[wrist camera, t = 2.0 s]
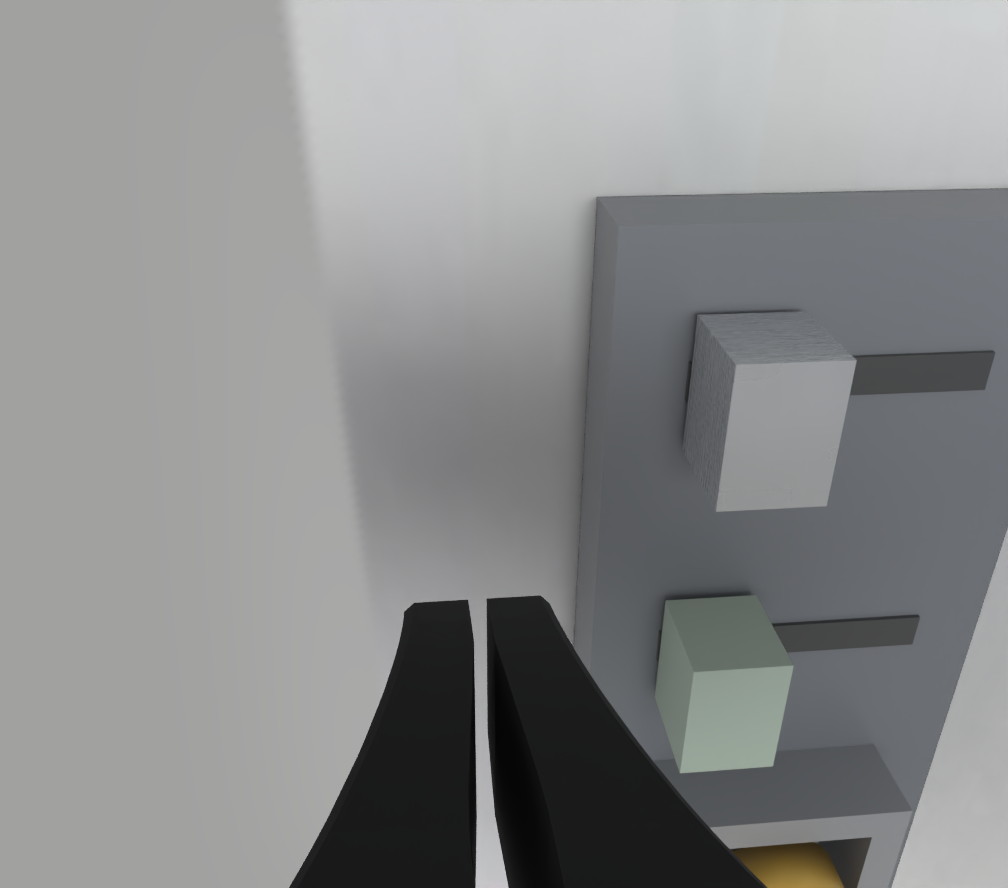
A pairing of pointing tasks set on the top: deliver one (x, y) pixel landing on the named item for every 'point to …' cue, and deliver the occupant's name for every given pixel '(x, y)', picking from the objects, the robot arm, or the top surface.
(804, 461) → the gray cuboid pillar
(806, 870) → the amber button
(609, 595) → the control panel
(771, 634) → the sage green cuboid
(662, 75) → the top surface
